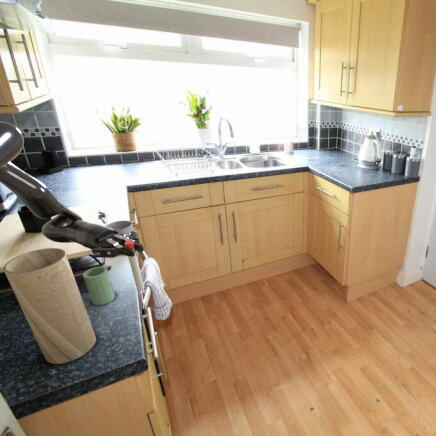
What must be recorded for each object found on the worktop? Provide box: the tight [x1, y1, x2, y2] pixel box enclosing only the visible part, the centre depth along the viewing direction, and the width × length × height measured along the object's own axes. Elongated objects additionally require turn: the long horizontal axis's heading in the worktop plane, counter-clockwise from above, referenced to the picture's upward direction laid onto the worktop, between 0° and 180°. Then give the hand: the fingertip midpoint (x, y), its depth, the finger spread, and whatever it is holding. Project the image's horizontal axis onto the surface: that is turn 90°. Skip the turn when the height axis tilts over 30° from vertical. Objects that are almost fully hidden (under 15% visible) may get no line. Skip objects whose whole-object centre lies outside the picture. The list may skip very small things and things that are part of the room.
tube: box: [3, 247, 97, 365], centre depth 72 cm, size 10×10×25 cm
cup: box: [105, 220, 135, 235], centre depth 117 cm, size 8×8×10 cm
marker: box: [124, 241, 145, 291], centre depth 93 cm, size 2×2×16 cm
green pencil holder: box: [82, 266, 116, 306], centre depth 92 cm, size 6×6×10 cm
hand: (137, 250), depth 90 cm, fingers closed on marker, 2 cm apart
